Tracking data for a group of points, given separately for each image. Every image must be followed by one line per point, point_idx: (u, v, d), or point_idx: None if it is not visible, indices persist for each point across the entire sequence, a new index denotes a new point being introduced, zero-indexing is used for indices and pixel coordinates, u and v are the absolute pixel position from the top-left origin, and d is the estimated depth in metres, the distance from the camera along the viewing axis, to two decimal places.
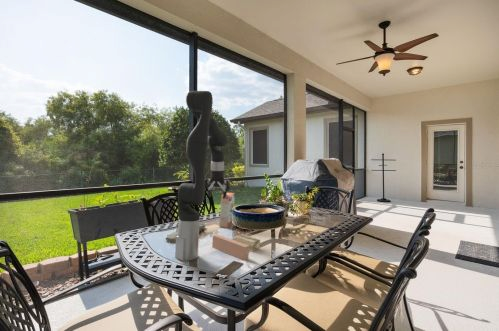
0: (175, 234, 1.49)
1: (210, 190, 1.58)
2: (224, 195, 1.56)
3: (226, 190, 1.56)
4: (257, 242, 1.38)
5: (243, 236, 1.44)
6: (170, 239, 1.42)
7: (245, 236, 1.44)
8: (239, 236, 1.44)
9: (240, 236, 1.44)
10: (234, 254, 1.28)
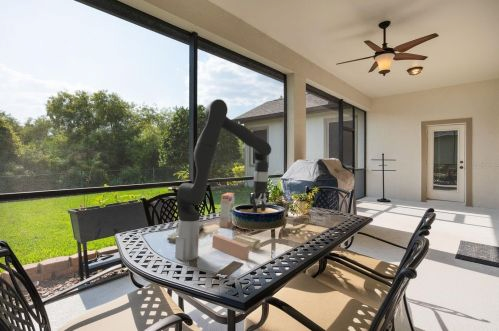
0: (176, 234, 1.48)
1: (261, 204, 1.50)
2: None
3: None
4: (257, 242, 1.39)
5: (243, 236, 1.44)
6: (172, 239, 1.42)
7: (245, 236, 1.44)
8: (239, 236, 1.44)
9: (240, 236, 1.44)
10: (234, 254, 1.28)
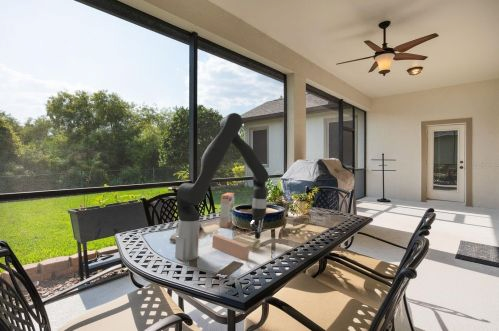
0: None
1: None
2: None
3: (254, 230, 1.47)
4: (257, 242, 1.38)
5: (243, 236, 1.44)
6: (175, 240, 1.42)
7: (245, 236, 1.44)
8: (239, 236, 1.44)
9: (240, 236, 1.44)
10: (234, 254, 1.28)
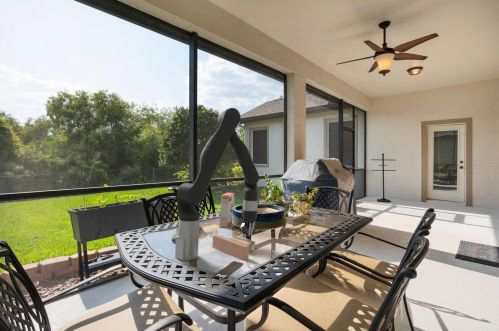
0: None
1: None
2: None
3: None
4: (252, 244, 1.35)
5: (237, 238, 1.41)
6: None
7: (240, 238, 1.41)
8: (233, 238, 1.40)
9: (235, 238, 1.40)
10: (234, 254, 1.28)
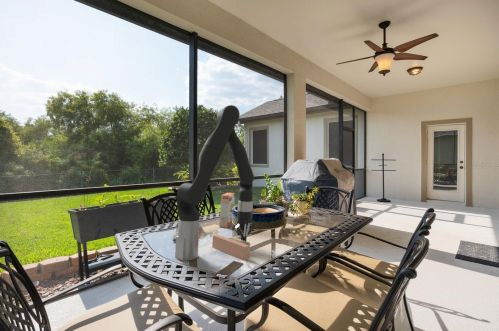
0: None
1: None
2: None
3: None
4: None
5: (232, 239, 1.38)
6: None
7: (234, 239, 1.38)
8: None
9: None
10: (234, 254, 1.28)
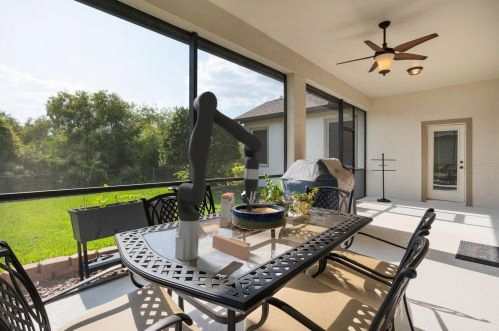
0: None
1: None
2: None
3: (246, 203, 1.40)
4: None
5: (232, 239, 1.38)
6: None
7: (235, 239, 1.38)
8: None
9: None
10: (234, 254, 1.28)
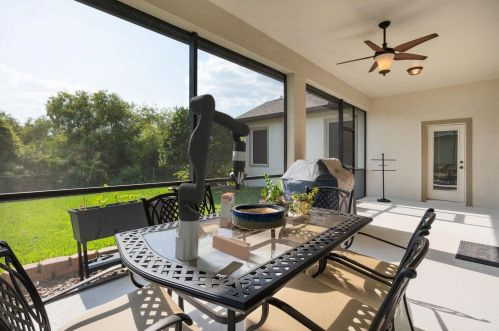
0: None
1: None
2: None
3: None
4: None
5: (232, 239, 1.38)
6: None
7: (235, 239, 1.38)
8: None
9: None
10: (234, 254, 1.28)
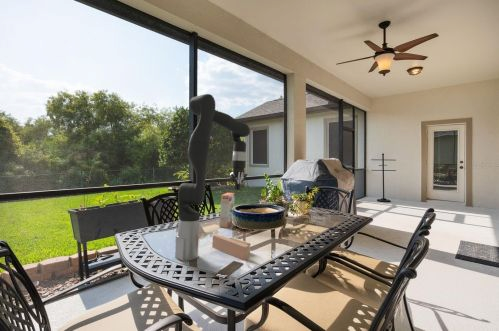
0: None
1: None
2: None
3: None
4: None
5: (232, 239, 1.38)
6: None
7: (235, 239, 1.38)
8: None
9: None
10: (234, 254, 1.28)
